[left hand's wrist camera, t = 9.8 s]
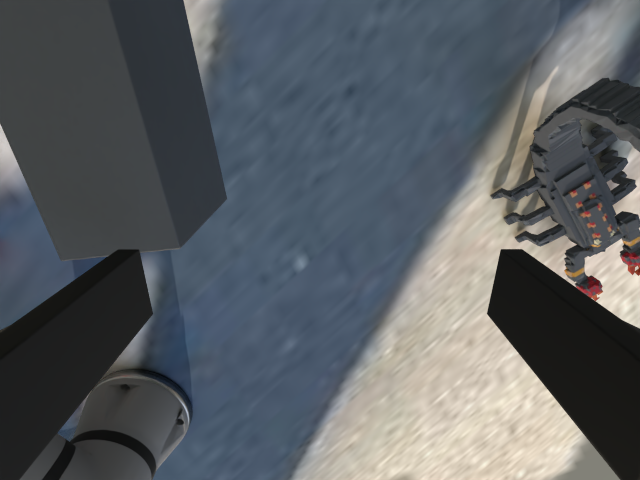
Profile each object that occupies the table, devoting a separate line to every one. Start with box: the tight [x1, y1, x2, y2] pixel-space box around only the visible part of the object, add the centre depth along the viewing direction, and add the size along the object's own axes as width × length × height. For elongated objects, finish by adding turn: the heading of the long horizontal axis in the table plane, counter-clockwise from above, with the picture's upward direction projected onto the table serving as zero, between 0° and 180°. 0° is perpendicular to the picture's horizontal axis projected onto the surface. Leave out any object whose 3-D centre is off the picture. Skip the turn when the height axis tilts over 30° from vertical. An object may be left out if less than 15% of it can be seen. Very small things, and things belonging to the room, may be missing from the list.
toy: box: [491, 78, 640, 301], centre depth 31 cm, size 13×27×18 cm, turn 37°
